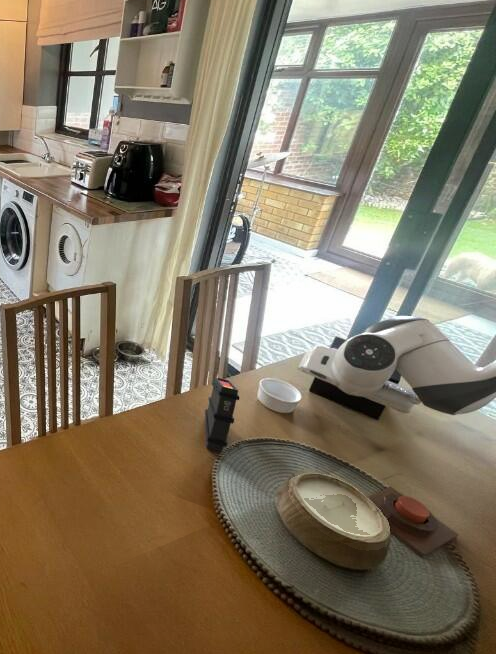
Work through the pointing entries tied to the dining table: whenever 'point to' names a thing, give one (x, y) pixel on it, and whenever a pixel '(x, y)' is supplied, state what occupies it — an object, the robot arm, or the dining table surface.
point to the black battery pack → (220, 414)
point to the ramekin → (278, 395)
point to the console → (345, 399)
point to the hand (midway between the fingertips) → (349, 389)
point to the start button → (412, 509)
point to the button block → (412, 525)
